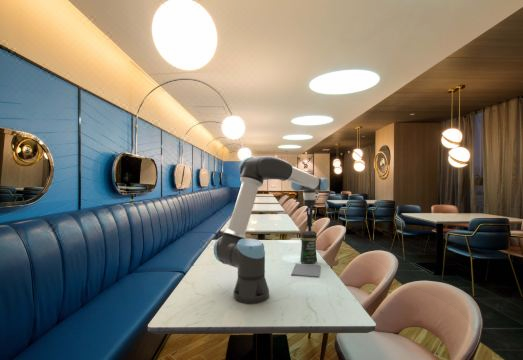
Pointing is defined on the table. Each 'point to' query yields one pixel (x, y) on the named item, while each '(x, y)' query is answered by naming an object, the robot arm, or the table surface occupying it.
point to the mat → (306, 270)
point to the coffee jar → (308, 247)
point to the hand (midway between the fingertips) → (309, 236)
